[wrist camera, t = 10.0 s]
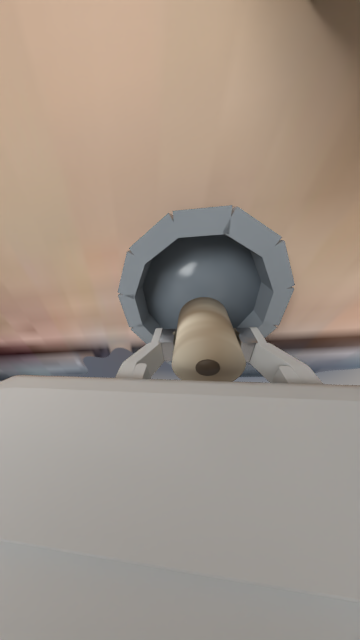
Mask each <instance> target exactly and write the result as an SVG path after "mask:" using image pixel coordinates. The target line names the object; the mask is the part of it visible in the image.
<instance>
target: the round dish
mask: <svg viewBox="0 0 360 640" xmlns="http://www.w3.org/2000/svg"><path fill="white" fill-rule="evenodd" d="M281 238H282V237H281V236H280V235H278V234H277V233H275V232H274V231H272V230H271V229H269V228H268V227H266V226H265V225H263V224H262V223H261V222H259V221H258V220H256V219H255V218H253V217H252V216H250V215H249V214H247V213H246V212H244V211H243V210H242V209H240V208H239V207H234V208H232V205H230V206H220V207H209V208H199V209H189V210H179V211H173V215H172V214H169V213H168V214H167V215H166V216H165V217H163V218H162V219H161V220H160V221H159V222H158V223H157V224H156V225H155V226H153V227H152V228H151V229H150V230H149V231H148V232H147V233H146V234H144V235H143V236H142V237H141V238H140V239H139V240H138V241H137V242H136V243H134V244H133V245H132V246H131V247H130V248H129V249H130V251H128V252H127V254H126V259H125V263H124V267H123V272H122V276H121V280H120V285H119V289H118V293H120V294H119V295H118V297H119V299H120V302H121V305H122V308H123V311H124V313H125V316H126V319H127V322H128V325H129V327H132V328H131V330H132V331H133V332H134V333H135V334H136V335H137V336H139V337H140V338H141V339H142V340H143V341H144V342H145V343H146V344H148V343H151V340H152V338H153V335H154V332H155V329H156V328H176V331H177V325H178V318H179V313H180V310H181V309H182V307H183V306H184V305H185V304H186V303H187V302H189V301H190V300H192V299H195V298H199V297H209V298H213V299H215V300H217V301H219V302H220V303H221V304H222V305H223V306H224V307H225V309H226V311H227V314H228V316H229V319H230V321H231V324H232V327H233V329H234V328H249V327H257V328H258V329H259V331H260V332H261V334H262V336H263V337H264V338H265V337H266V336H267V335H269V334H270V333H271V332H272V331H273V330H275V329H276V328H277V327H276V326H275V325H279V324H280V321H281V319H282V316H283V314H284V312H285V309H286V307H287V305H288V302H289V300H290V298H291V295H292V293H293V290H294V288H293V287H292V286H294V285H295V284H294V280H293V276H292V271H291V267H290V263H289V258H288V254H287V250H286V246H285V241H283V240H280V239H281Z"/></svg>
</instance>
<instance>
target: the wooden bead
mask: <svg viewBox="0 0 360 640" xmlns="http://www.w3.org/2000/svg"><path fill="white" fill-rule="evenodd" d="M245 366H246V361H245V357H244V355H243V352H242V350H241V347H240V345H239V342H238V339H237V337H236V334H235V332H234V329H233V327H232V324H231V321H230V319H229V316H228V314H227V311H226V309H225V307H224V306H223V305H222V304H221V303H220V302H219V301H217V300H215V299H213V298H209V297H199V298H195V299H192V300H190V301H189V302H187V303H186V304H185V305H184V306H183V307H182V309H181V310H180V313H179V318H178V325H177V332H176V338H175V345H174V352H173V358H172V368H173V371H174V373H175V374H176V375H177V376H178V377H179V378H180V379H181V380H196V381H228V382H232V381H234V380H236V379H237V378H238V377H240V375H241V374H242V373H243V372H244V369H245Z"/></svg>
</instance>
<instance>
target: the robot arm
mask: <svg viewBox="0 0 360 640" xmlns="http://www.w3.org/2000/svg"><path fill="white" fill-rule="evenodd" d="M176 332H177V331H176V328H156V329H155V332H154V335H153V338H152V340H151V343H148V344H146V345H145V346H144V347H142V348H141V349H140V350H138V351H137V352H136V353H135V354H133V355H132V356H131V357H129V358H128V359H127V360H125V361H124V362H123V363H122V365H121V367H120V369H119V371H118V373H117V375H116V377H115V378H97V377H65V376H34V375H17V376H13V377H10V378H8V379H6V380H3V381H1V382H0V640H360V386H357V385H324V384H323V383H322V382H321V381H320V380H319V378H318V377H317V376H316V375H315V373H314V372H313V371H312V370H311V368H310V367H309V366H308V365H306V364H304V363H303V362H301V361H299V360H297V359H296V358H294V357H292V356H291V355H289V354H287V353H286V352H284V351H282V350H281V349H279V348H277V347H275V346H274V345H272V344H270V343H267V342H266V340H265V339H264V337H263V336H262V334H261V332H260V331H259V329H258V328H257V327H249V328H234V332H235V334H236V337H237V339H238V342H239V345H240V347H241V350H242V352H243V355H244V357H245V361H246V362H250V364H251V365H252V366H253V367H254V368H255V369H257V370H258V371H259V372H260V373H261V374H262V375H263V376H264V377H265V378H266V379H267V380H268V381H269V382H270V383H260V382H228V381H196V380H163V379H151V376H152V375H153V374H154V372H156V370H157V369H158V368H159V367H160V366H161V365H162V363H163V362H164V361H172V358H173V352H174V345H175V338H176Z"/></svg>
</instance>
